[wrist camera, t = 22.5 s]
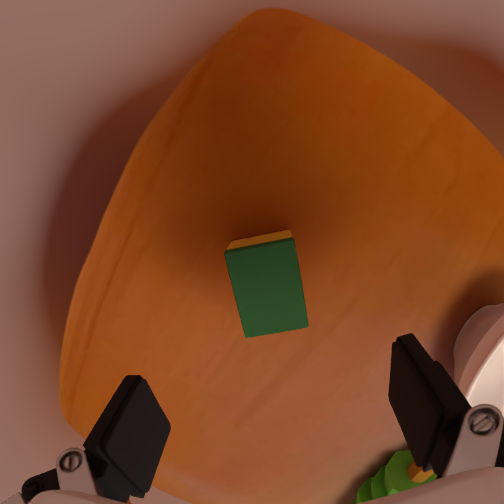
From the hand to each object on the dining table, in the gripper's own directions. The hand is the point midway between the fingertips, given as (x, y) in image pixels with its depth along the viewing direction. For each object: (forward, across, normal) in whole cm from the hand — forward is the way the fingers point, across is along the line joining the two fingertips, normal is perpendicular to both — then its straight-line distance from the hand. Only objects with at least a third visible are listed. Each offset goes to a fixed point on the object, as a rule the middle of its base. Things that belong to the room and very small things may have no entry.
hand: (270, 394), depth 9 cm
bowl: (+16, -24, +15) cm, 32 cm away
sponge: (+16, 0, +1) cm, 16 cm away
